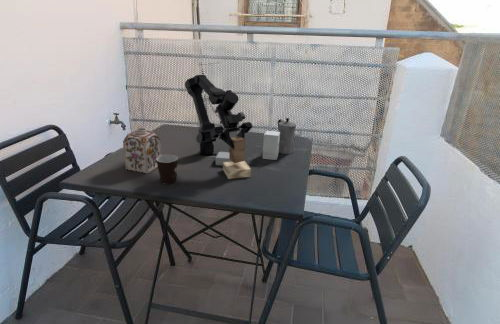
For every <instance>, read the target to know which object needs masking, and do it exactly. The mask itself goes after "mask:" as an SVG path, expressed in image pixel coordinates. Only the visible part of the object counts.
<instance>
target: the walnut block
mask: <svg viewBox="0 0 500 324" xmlns="http://www.w3.org/2000/svg"><path fill="white" fill-rule="evenodd" d="M230 138H231V140H232V142H233V145H234V148H233V149H232V148H231V147H230V146H229V145H228V146H229V148H228V149H229V160H230V161H232V162H234V163H238V162H242V161H245V158H246V157H245V154H246V153H245V152H246V151H245V150H246V139H244V138H242V137H240V136H239V137H237V136H234V137H230Z"/></svg>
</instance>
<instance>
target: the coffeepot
mask: <svg viewBox="0 0 500 324" xmlns="http://www.w3.org/2000/svg"><path fill="white" fill-rule="evenodd" d="M296 128H297V124H296V122H292V121H290V118H289V117H286V118H285V120H284V119H280V118H279V119H278V121H277V130H278V131H277V132H280V139H279V152H278V154H283V155H291V154H293V153H294V151H295V150H294V140H293V138H294V136H295V132H296Z"/></svg>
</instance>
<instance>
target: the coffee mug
mask: <svg viewBox="0 0 500 324" xmlns="http://www.w3.org/2000/svg"><path fill="white" fill-rule="evenodd" d="M156 161H157V165H158V167H157V168H158V174H159V181H160V183H161V182H162V183H161V184H163V183H165V184H164V185H172V184H175V183H176V182H177V180H178V177H177V176H178V165H179V164H178V163H179V157H178V156H177V155H175V154H162V156H159V157H157V158H156ZM174 182H175V183H174ZM171 183H172V184H171Z"/></svg>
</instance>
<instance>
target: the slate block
mask: <svg viewBox="0 0 500 324" xmlns="http://www.w3.org/2000/svg"><path fill="white" fill-rule="evenodd" d="M223 162H232V161H230V160H229V152H228V151H218V153H217V154H216V156H215V165H216V166H223Z"/></svg>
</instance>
